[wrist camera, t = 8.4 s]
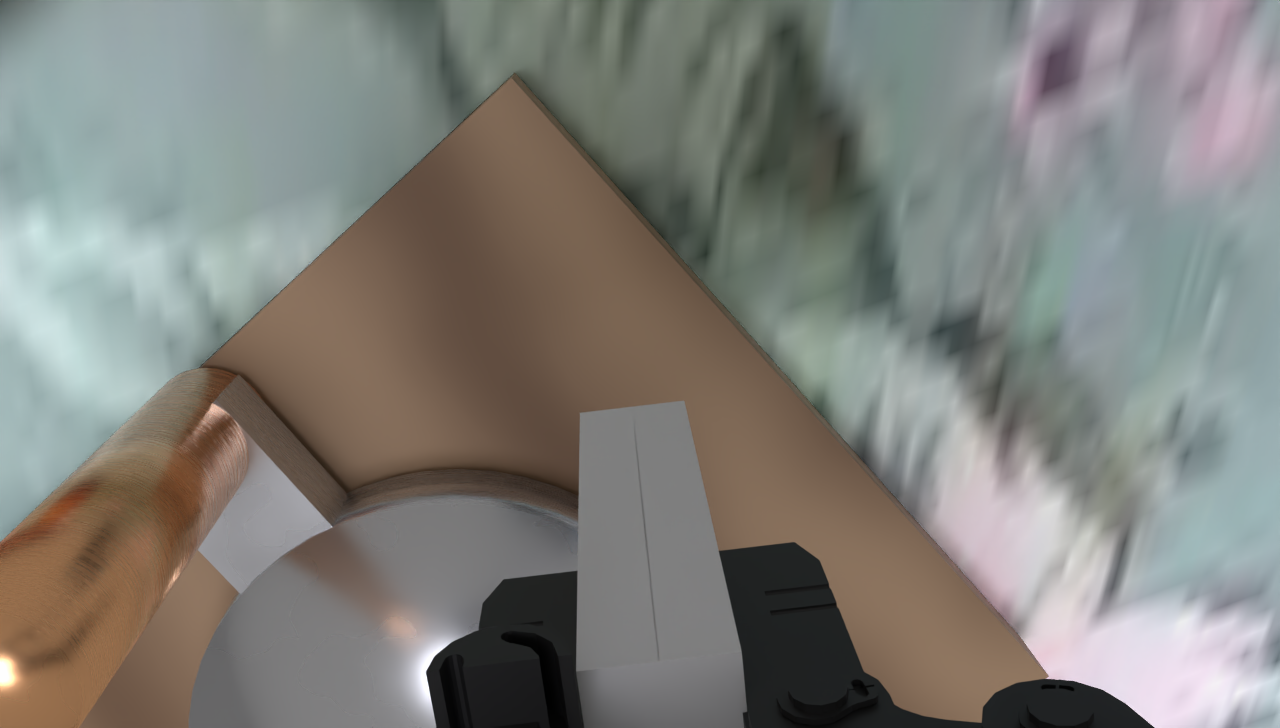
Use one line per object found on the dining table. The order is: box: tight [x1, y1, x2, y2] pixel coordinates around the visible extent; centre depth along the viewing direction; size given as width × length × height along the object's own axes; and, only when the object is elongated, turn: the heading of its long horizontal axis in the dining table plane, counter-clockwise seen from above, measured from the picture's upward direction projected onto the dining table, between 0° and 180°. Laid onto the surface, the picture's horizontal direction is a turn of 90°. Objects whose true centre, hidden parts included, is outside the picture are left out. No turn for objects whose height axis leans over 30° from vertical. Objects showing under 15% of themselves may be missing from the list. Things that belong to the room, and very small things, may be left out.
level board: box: [79, 73, 1048, 728], centre depth 29 cm, size 22×20×4 cm
